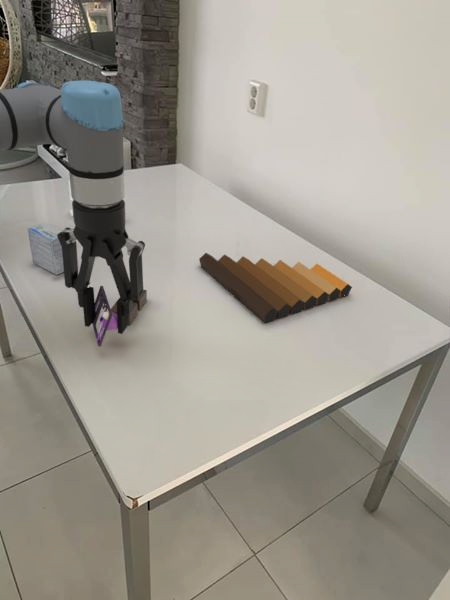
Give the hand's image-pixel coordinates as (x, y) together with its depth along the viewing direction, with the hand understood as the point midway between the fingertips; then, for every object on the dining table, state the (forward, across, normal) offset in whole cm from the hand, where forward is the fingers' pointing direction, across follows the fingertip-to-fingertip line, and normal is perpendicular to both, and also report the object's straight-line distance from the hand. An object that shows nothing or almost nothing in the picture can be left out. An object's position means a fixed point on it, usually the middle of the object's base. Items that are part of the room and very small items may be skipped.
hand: (106, 325), depth 79 cm
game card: (+1, 0, 0) cm, 1 cm away
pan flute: (+4, -26, -32) cm, 41 cm away
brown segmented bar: (+3, 0, -10) cm, 11 cm away
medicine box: (+4, +22, -20) cm, 30 cm away
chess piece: (+4, +30, -48) cm, 57 cm away
